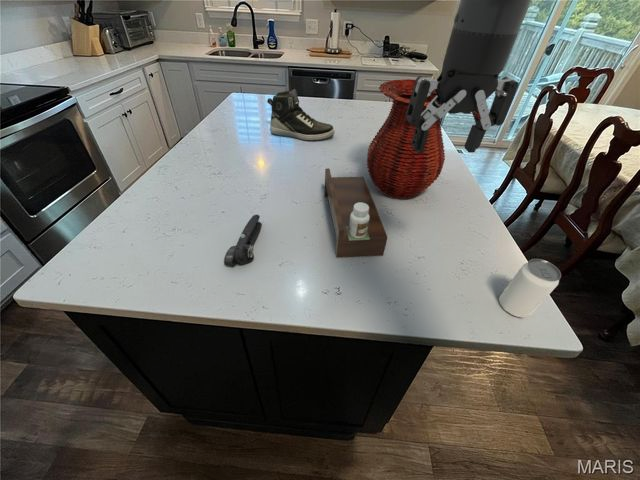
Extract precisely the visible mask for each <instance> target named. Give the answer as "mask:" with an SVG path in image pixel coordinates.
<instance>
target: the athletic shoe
mask: <svg viewBox="0 0 640 480" xmlns="http://www.w3.org/2000/svg"><path fill="white" fill-rule="evenodd" d="M266 102H267V104H269V105H270V106H271V107H270V108H271V114H270V126H269V128H270V129H269V130H270V133H271V135H273V136H279V137H286V138H293V139H296V140H300V141H305V142H318V141H319V142H320V141H324V140H327V139H331V138H332V137H333V136H334V134H335V127H334V126H333V125H332V124H330V123H326V122H321V121H318V120H316V119H315V118H313V117H311V116H310V114H308V113H306V111H304V110H303V108H302V107H301V106H300V100H299V96H298V92H297V90H296V89H295V88H294V89H292V90H285V91H280V92H277V93H276V94H275V95H273V97H272V98H271V97H269V98H267V100H266Z"/></svg>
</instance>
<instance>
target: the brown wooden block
mask: <svg viewBox="0 0 640 480" xmlns="http://www.w3.org/2000/svg"><path fill="white" fill-rule="evenodd" d="M324 172H325V173H324V189H323V197H324V198H327V199H328V202H329V208H330V212H331V218H332V222H333V226H334V227H333V228H334V232H335V236H336V242H335V243H336V244H335V252H334V253H335V258H336V259H341V258H343V259H344V258H360V257H361V258H362V257H381V256H384V254H385V250H386V246H387V241H388V234H387V232H386V229H385V228H384V225H383V222H382V219H381V217H380V215H379V212H378V210H377V207H376V205H375V201H374V198H373V196H372V195H371V192H370V189H369V187H368V184H367V181H366V179H365V177H364V176H332V174H331V170H330V168H325V169H324ZM359 202H361V203H365V204H367V205H368V206H369V212H368V214H369V216H370V218H369V223H368V228H367V233H366V235H365V236H364V237H363V238H354V237H352V236H351V235H350V234H349V232H348V230H349V223H350V215H351V213H352V212H353V208H354V205H355V204H356V203H359Z"/></svg>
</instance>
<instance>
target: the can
mask: <svg viewBox="0 0 640 480" xmlns="http://www.w3.org/2000/svg"><path fill="white" fill-rule="evenodd" d="M561 278H562V273H561V270H560V269H559V268H558V267H557V266H556V265H554V264H553V263H552V262H550V261H548V260H545V259H541V258H532V259H530V260H528V261H527V262H526V263H524V264H523V265H522V266H521V267H520V268H519V269H518V271H517V272H516V273H515V275H514V276H513V278H512V279H511V280H510V281H509V283H508V285H507V286H506V287H505V289H504V290H503V292H502V293H501V294H500V295H499V299H498V300H499V301H498V302H499V304H500V307H501V308H502V309H503V310H504V311H505V312H506V313H508V314H509V315H511V316H513V317H516V318H527V317H530V316H531V315H532V314H533V313H534V311H535V310H537V308H539V306H540V305H541V304H542V303H543V302H544V301H545V300H546V299H547V298H548V297H549V295H551V293H552V292H553V291H554V290H555V289H556V288H557V287H558V286H559V284H560V280H561Z"/></svg>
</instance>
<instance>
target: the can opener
mask: <svg viewBox="0 0 640 480" xmlns="http://www.w3.org/2000/svg"><path fill="white" fill-rule="evenodd" d="M260 217H261V216H260V215H259V214H253V215H252V216H251V218H250V219H249V220H248V221H247V223H246V225H245V226H244V228H243V230H242V232H241V234H240V236H239V238H238V241H237V243H236V245H232V246H230V247H229V248H228V250H227V251H226V252H225V255H224V258H223V264H224V265H226V266H231V267H234V266H236V265H237V264H242V265H243V264H247V263H250V262H252V261H254V258H255V256H254V253H253V251H254V250H255V249H254V244H255V241H256V240H257V238H258V236H259V234H260V231H261V229H262V225H263V223H262V222H261V221H259V219H260Z"/></svg>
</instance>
